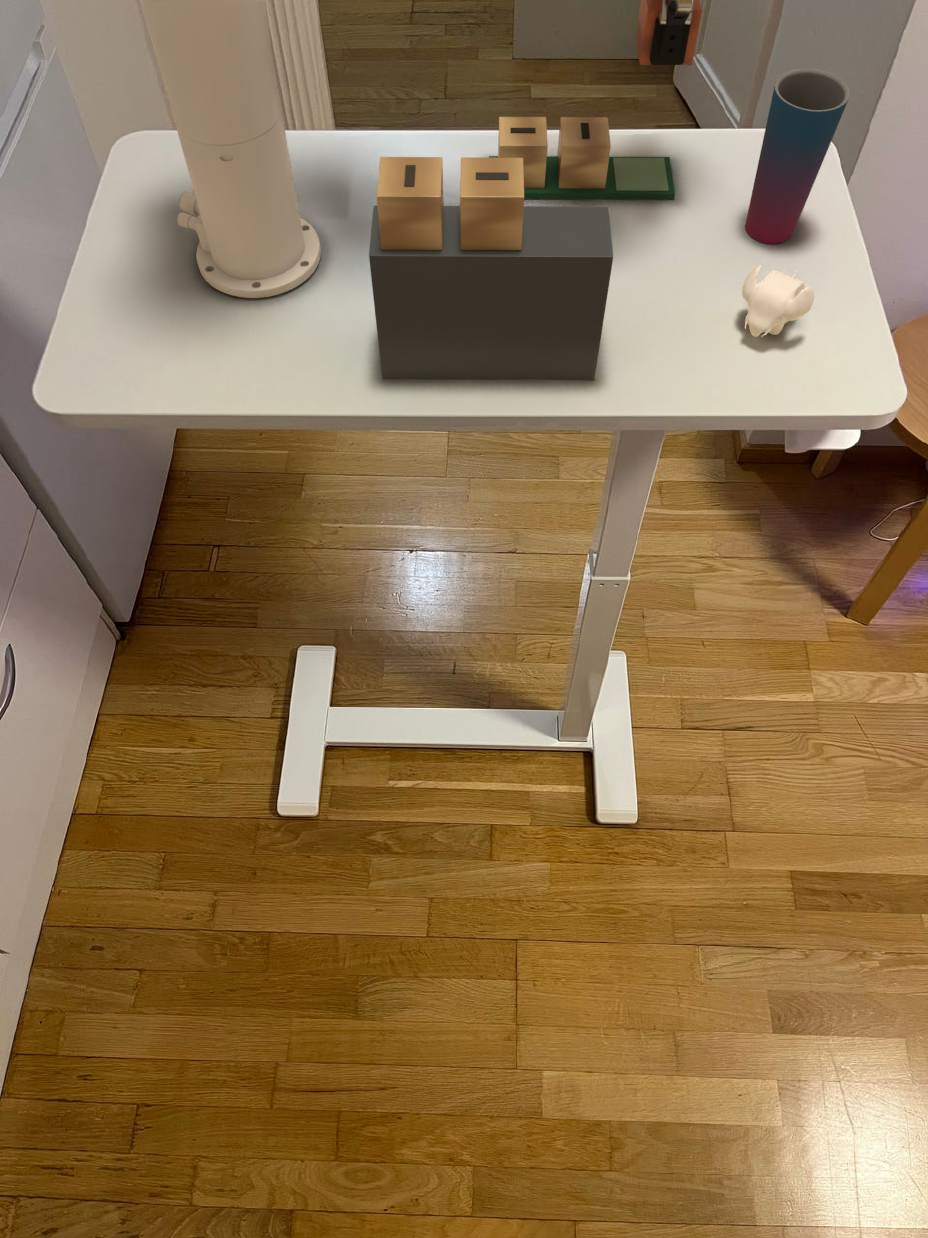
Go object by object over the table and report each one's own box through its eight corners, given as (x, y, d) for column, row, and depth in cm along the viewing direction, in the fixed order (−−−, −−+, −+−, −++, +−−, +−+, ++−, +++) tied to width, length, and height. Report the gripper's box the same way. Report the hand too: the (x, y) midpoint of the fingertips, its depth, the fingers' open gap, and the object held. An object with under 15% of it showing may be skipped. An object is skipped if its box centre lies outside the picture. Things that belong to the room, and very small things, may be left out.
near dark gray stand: (382, 378, 92) (362, 200, 75) (385, 330, 95) (368, 149, 78) (594, 380, 91) (621, 202, 75) (590, 331, 95) (616, 150, 78)
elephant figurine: (716, 333, 94) (730, 284, 89) (755, 288, 98) (771, 238, 93) (779, 363, 92) (797, 315, 87) (816, 315, 96) (836, 266, 91)
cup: (801, 253, 100) (849, 114, 87) (734, 245, 101) (773, 106, 88) (802, 211, 104) (850, 72, 91) (738, 203, 104) (776, 64, 91)
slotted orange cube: (639, 65, 93) (647, 9, 89) (635, 35, 96) (643, -20, 91) (692, 65, 93) (702, 9, 89) (686, 35, 96) (696, -20, 91)
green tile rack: (488, 198, 105) (489, 148, 100) (488, 162, 108) (489, 111, 103) (674, 199, 105) (684, 149, 100) (668, 162, 108) (678, 112, 103)
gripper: (645, -228, 83) (618, -2, 98) (663, -133, 74) (630, 98, 90) (734, -229, 83) (693, -2, 98) (762, -134, 74) (712, 98, 90)
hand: (663, 43), depth 94 cm, fingers closed on slotted orange cube, 5 cm apart
